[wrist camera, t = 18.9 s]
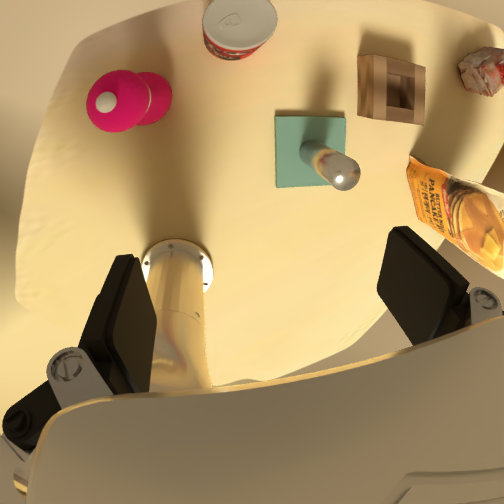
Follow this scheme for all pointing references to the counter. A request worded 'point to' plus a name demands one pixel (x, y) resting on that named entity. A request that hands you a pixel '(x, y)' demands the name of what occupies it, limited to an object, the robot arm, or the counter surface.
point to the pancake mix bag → (460, 213)
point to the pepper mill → (128, 100)
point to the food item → (483, 71)
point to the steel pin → (330, 164)
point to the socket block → (390, 89)
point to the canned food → (237, 27)
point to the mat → (293, 136)
